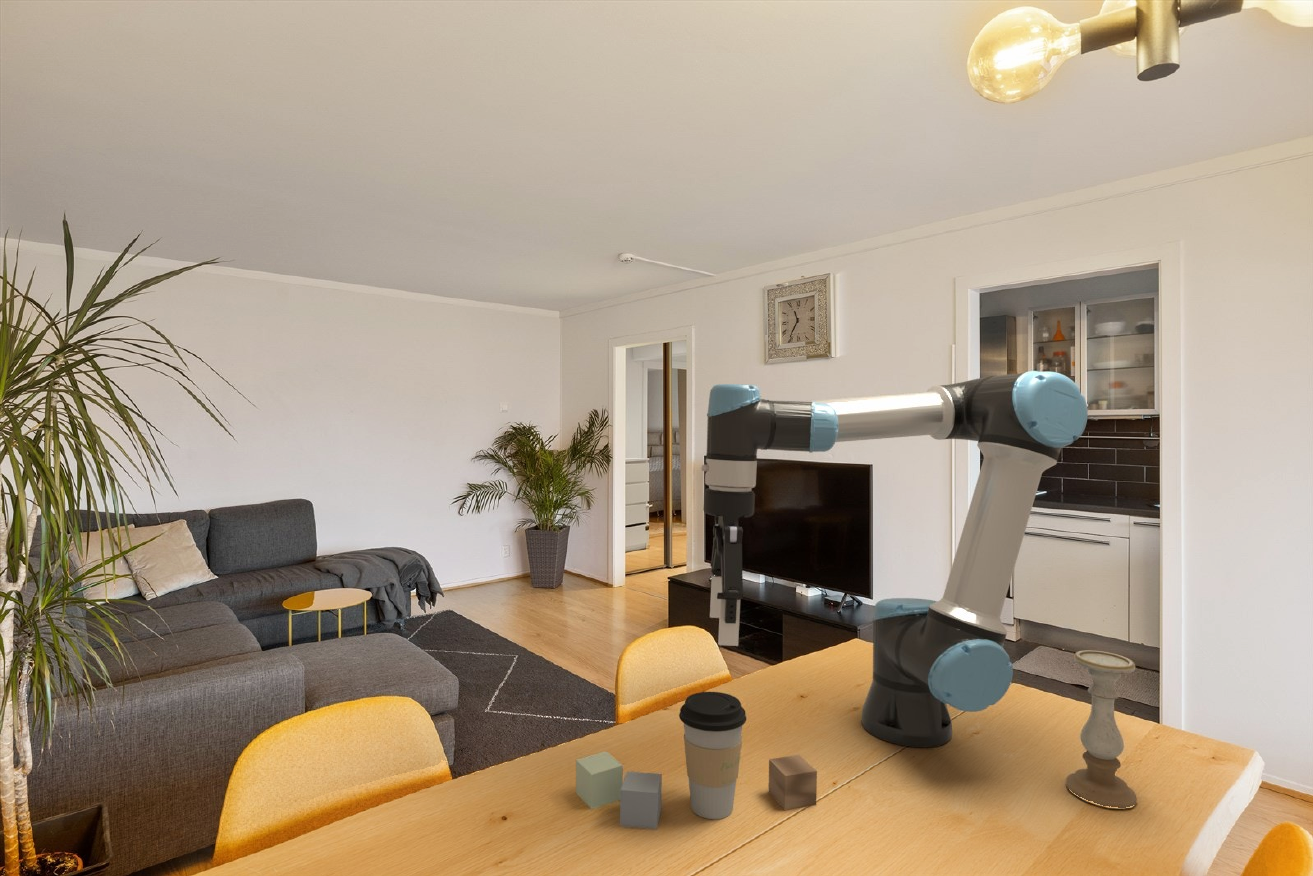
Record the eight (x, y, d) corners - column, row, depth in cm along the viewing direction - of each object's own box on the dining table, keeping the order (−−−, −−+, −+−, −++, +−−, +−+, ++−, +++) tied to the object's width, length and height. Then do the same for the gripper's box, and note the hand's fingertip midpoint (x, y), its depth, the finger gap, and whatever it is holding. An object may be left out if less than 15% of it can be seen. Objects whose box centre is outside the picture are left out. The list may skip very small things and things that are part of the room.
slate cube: (661, 809, 97) (661, 774, 96) (656, 830, 92) (657, 793, 91) (626, 806, 97) (626, 771, 97) (620, 826, 92) (620, 790, 92)
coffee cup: (742, 831, 91) (744, 720, 91) (672, 822, 93) (673, 713, 93) (747, 793, 101) (748, 692, 100) (683, 786, 102) (685, 686, 102)
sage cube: (605, 784, 103) (606, 751, 103) (622, 799, 99) (622, 765, 99) (575, 793, 100) (576, 759, 100) (591, 810, 96) (591, 774, 96)
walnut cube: (798, 787, 103) (799, 754, 102) (816, 805, 98) (816, 771, 98) (768, 792, 101) (769, 759, 101) (784, 811, 96) (785, 776, 96)
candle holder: (1125, 784, 104) (1129, 652, 104) (1145, 816, 96) (1149, 672, 95) (1059, 774, 107) (1063, 645, 106) (1073, 804, 99) (1077, 664, 98)
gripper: (698, 480, 114) (692, 606, 115) (712, 495, 89) (704, 657, 90) (743, 482, 114) (737, 608, 115) (769, 498, 89) (761, 659, 90)
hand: (722, 630), depth 102 cm, fingers open, 13 cm apart
